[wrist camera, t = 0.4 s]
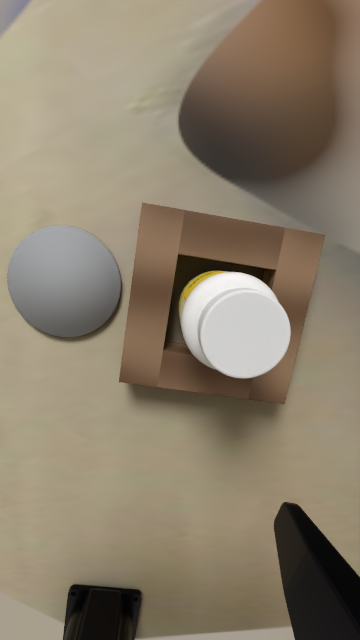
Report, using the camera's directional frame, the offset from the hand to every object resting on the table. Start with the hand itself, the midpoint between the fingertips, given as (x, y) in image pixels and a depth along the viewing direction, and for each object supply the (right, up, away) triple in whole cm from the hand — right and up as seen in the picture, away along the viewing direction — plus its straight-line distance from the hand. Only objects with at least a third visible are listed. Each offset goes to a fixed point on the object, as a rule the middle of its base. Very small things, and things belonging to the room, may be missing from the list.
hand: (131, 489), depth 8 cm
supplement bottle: (+4, +6, +14) cm, 16 cm away
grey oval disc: (-7, +8, +13) cm, 17 cm away
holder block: (+4, +6, +14) cm, 16 cm away
